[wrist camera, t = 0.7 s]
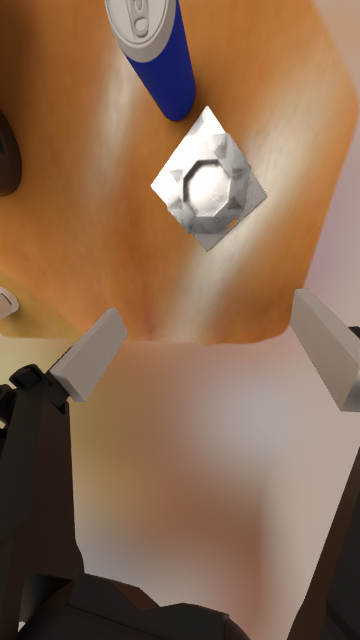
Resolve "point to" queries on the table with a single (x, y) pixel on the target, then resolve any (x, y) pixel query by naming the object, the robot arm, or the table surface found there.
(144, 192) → the table surface
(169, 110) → the beverage can
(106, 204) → the table surface
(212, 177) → the socket
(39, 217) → the table surface
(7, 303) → the bottle
